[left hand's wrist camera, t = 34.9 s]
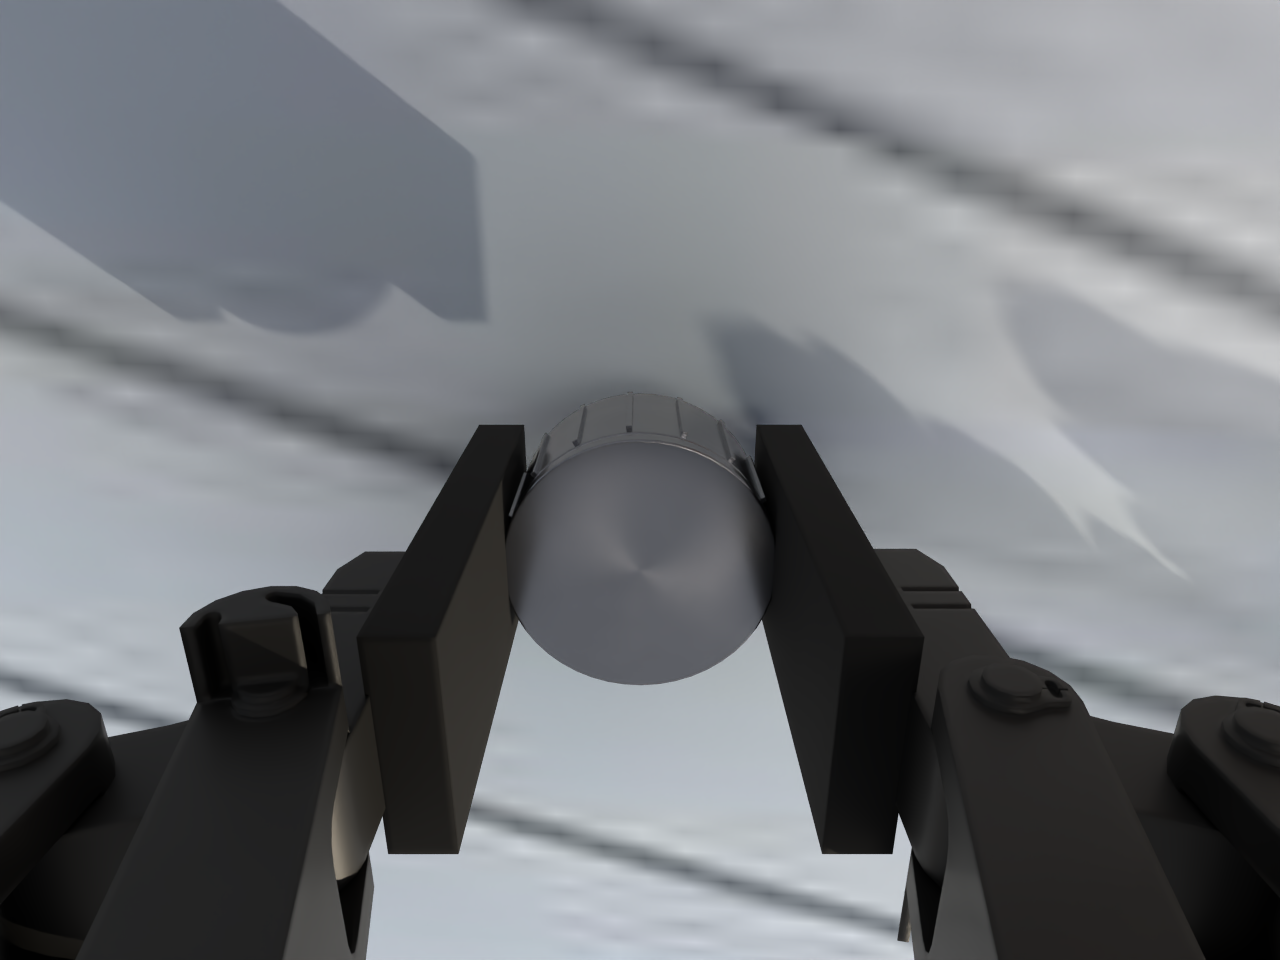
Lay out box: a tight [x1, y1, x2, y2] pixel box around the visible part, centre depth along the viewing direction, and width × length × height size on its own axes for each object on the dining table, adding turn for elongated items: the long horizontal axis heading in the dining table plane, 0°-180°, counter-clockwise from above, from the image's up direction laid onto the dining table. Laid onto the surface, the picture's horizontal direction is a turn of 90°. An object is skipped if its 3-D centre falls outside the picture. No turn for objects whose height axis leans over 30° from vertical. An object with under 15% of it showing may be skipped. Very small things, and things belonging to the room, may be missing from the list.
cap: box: [505, 392, 776, 685], centre depth 13 cm, size 4×4×2 cm
